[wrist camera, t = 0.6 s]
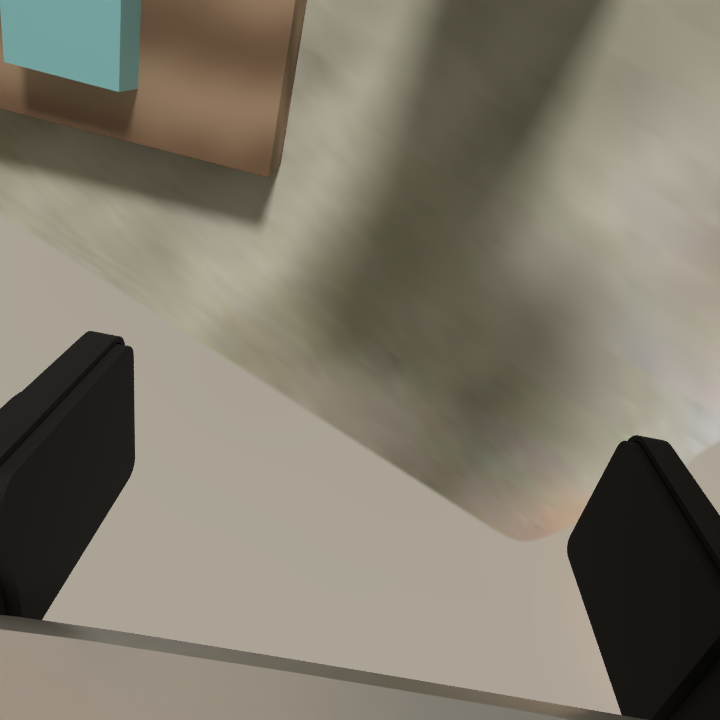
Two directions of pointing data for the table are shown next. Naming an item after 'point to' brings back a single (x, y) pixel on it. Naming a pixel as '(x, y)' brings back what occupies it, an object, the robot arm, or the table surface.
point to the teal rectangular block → (75, 39)
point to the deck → (186, 83)
